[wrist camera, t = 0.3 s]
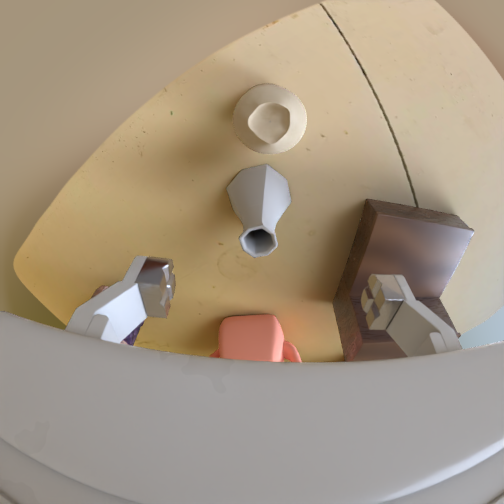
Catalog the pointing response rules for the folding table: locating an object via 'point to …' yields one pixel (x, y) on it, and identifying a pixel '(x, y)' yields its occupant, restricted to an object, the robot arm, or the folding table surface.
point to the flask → (259, 207)
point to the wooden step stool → (397, 269)
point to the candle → (269, 119)
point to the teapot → (254, 340)
